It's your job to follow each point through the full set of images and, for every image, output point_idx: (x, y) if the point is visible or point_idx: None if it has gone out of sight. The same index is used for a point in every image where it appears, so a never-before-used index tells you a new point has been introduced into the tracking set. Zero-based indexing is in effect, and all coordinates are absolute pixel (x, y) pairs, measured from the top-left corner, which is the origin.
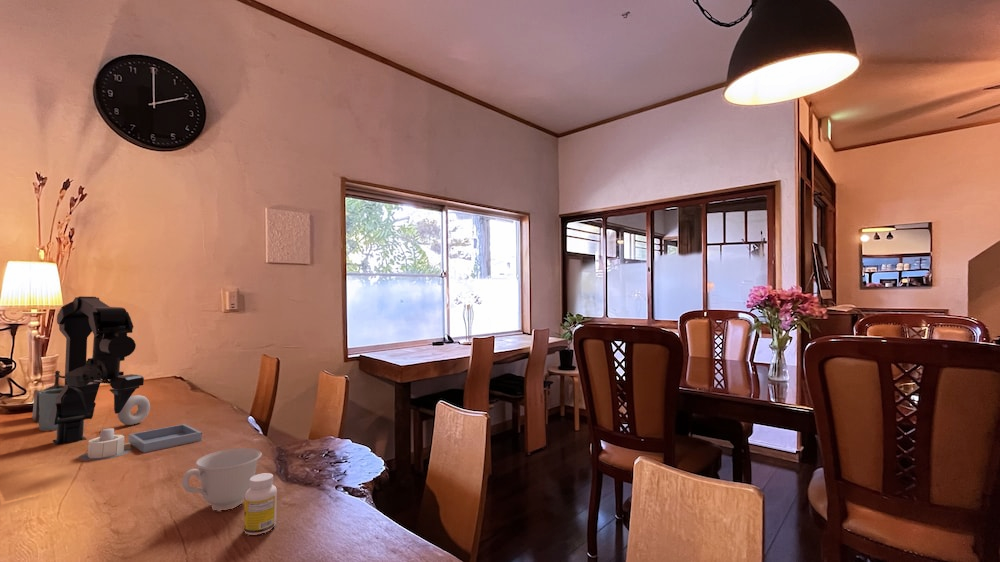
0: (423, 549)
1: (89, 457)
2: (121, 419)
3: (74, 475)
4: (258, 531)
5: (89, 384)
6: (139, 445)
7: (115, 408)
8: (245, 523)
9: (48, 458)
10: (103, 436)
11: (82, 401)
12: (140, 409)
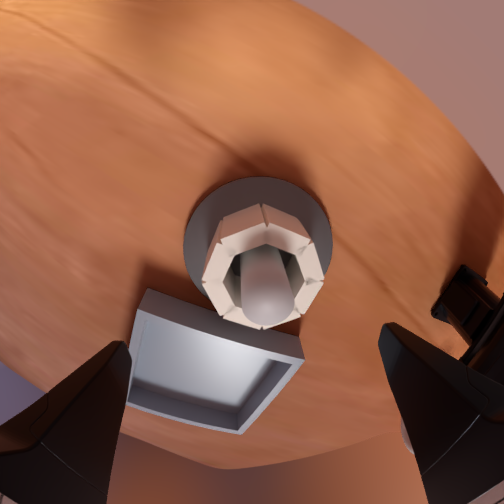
0: None
1: (269, 206)
2: None
3: (152, 88)
4: None
5: (481, 495)
6: (189, 316)
7: (94, 361)
8: None
9: (411, 185)
10: (256, 271)
11: (449, 355)
12: None
